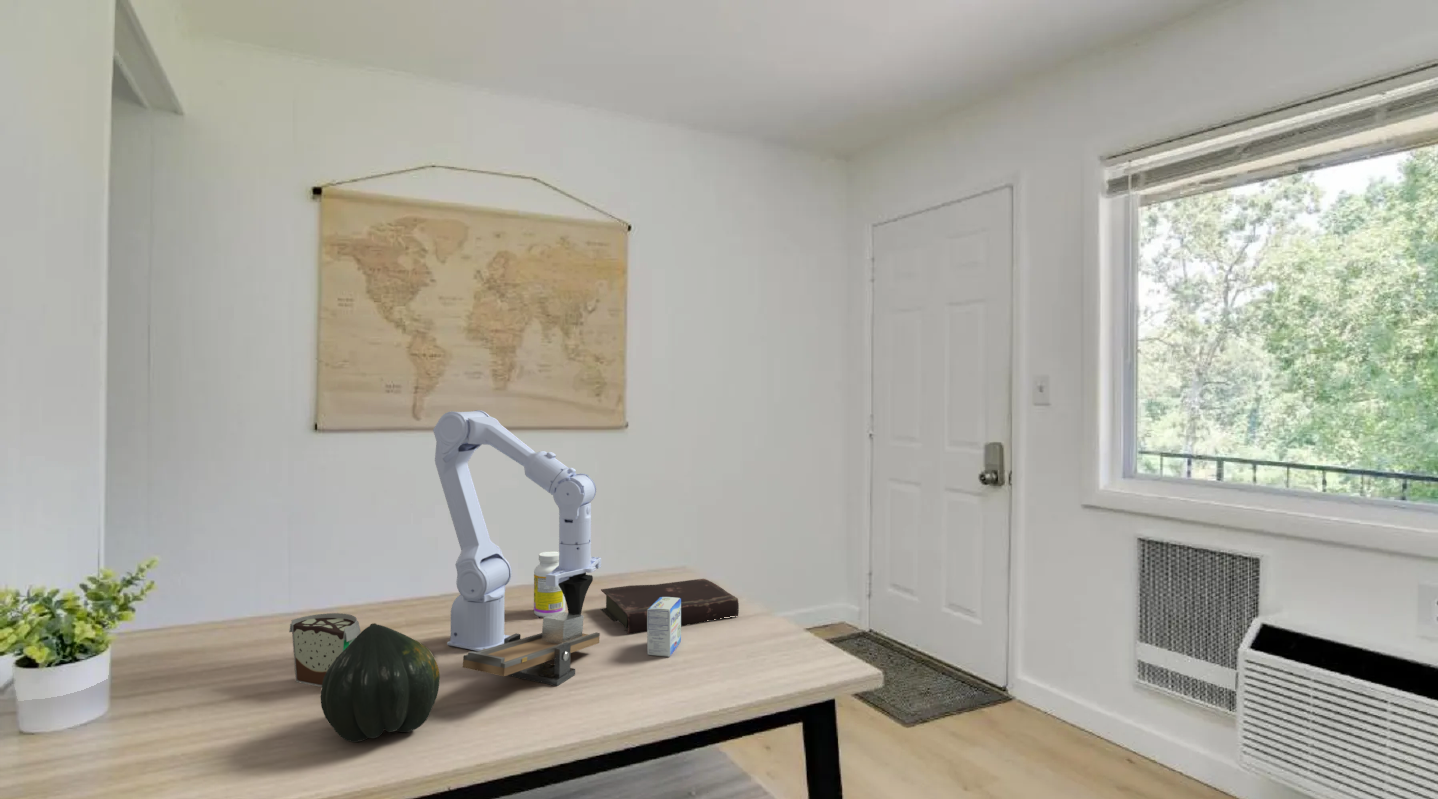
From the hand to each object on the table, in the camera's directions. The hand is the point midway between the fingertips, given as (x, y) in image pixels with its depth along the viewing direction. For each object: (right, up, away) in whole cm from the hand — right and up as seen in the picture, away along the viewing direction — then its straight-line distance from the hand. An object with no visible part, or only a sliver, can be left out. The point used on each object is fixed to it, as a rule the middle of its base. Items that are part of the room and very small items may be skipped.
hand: (574, 615), depth 128 cm
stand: (-4, -7, -10) cm, 13 cm away
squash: (-21, -7, -29) cm, 37 cm away
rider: (-2, -3, -4) cm, 5 cm away
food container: (-37, -7, -13) cm, 40 cm away
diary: (+15, -7, +24) cm, 29 cm away
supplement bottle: (-10, -7, +23) cm, 26 cm away
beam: (-4, -3, -10) cm, 11 cm away
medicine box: (+16, -7, +3) cm, 18 cm away
